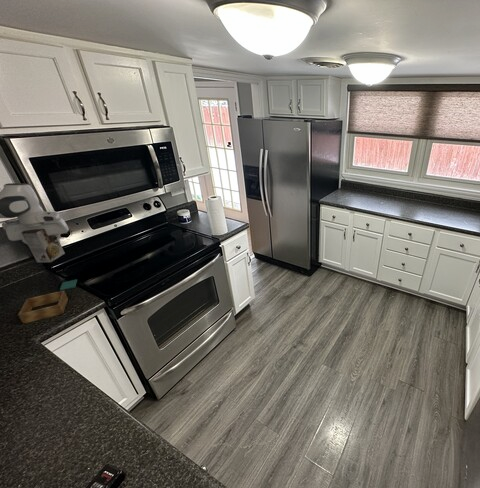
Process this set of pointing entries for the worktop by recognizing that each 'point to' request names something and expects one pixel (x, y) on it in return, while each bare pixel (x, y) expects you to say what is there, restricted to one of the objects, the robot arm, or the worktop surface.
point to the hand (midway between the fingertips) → (45, 244)
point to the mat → (68, 284)
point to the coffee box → (43, 245)
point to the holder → (30, 316)
